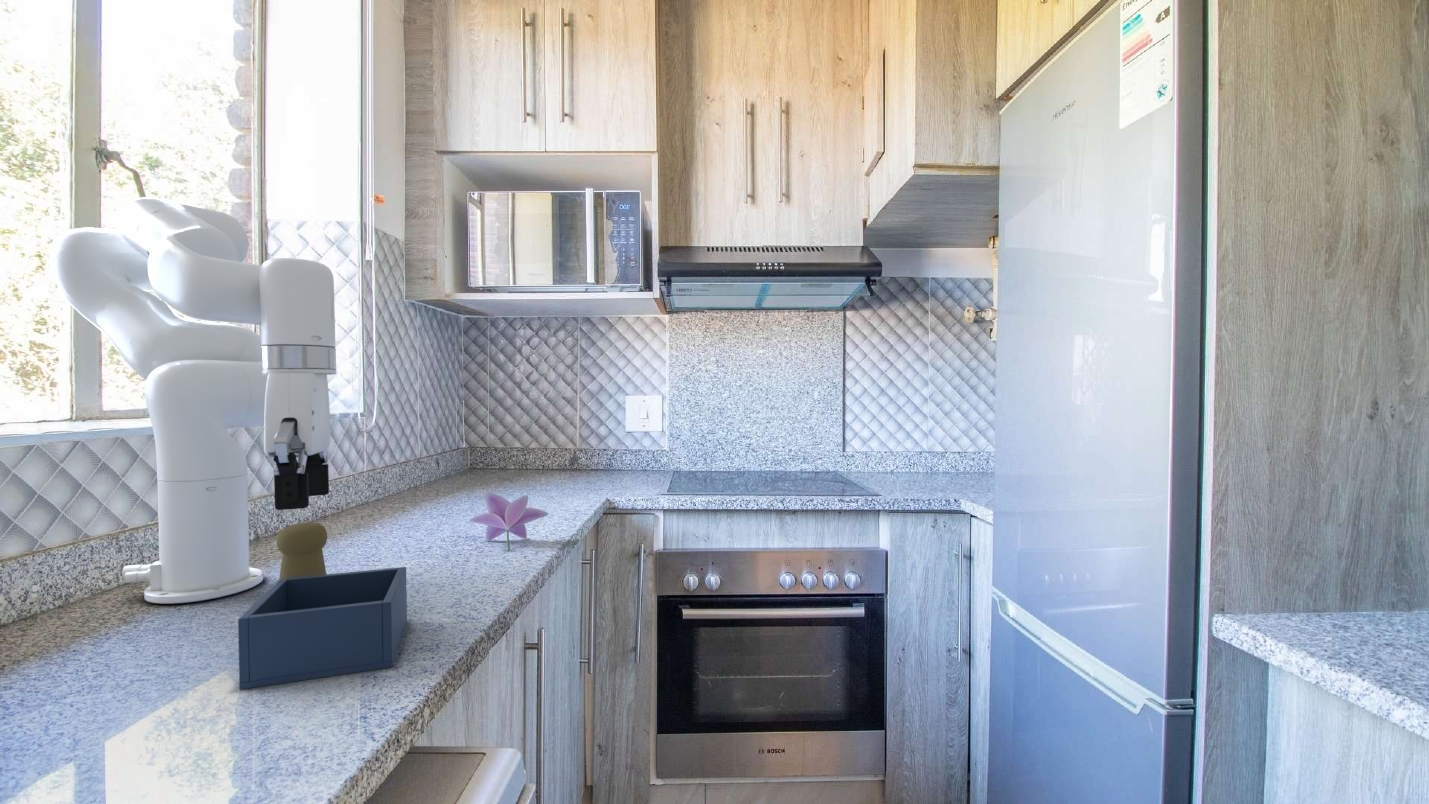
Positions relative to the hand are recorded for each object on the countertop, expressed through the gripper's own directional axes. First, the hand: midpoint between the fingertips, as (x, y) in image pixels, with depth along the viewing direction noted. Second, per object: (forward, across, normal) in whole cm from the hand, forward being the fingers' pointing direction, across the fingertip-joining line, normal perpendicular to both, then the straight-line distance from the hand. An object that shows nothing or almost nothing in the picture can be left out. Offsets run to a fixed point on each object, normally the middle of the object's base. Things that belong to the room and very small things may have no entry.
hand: (304, 501), depth 75 cm
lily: (+14, -26, +24) cm, 38 cm away
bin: (+14, +14, +6) cm, 20 cm away
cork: (+14, 0, 0) cm, 14 cm away
